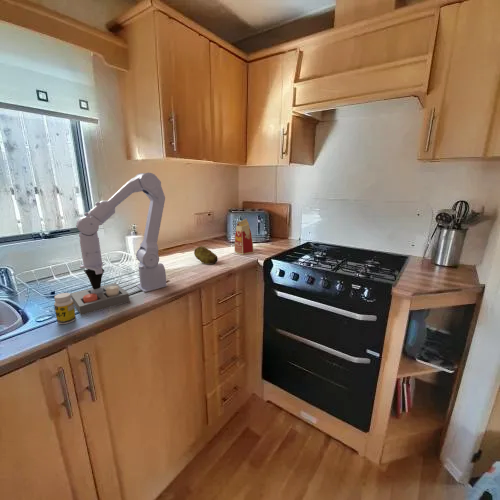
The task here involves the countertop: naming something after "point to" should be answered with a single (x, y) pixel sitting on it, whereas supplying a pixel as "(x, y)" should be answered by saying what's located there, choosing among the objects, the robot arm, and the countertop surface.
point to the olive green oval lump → (205, 255)
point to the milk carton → (243, 238)
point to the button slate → (96, 290)
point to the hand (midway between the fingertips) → (96, 288)
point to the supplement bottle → (64, 308)
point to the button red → (90, 298)
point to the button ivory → (112, 291)
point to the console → (101, 302)
